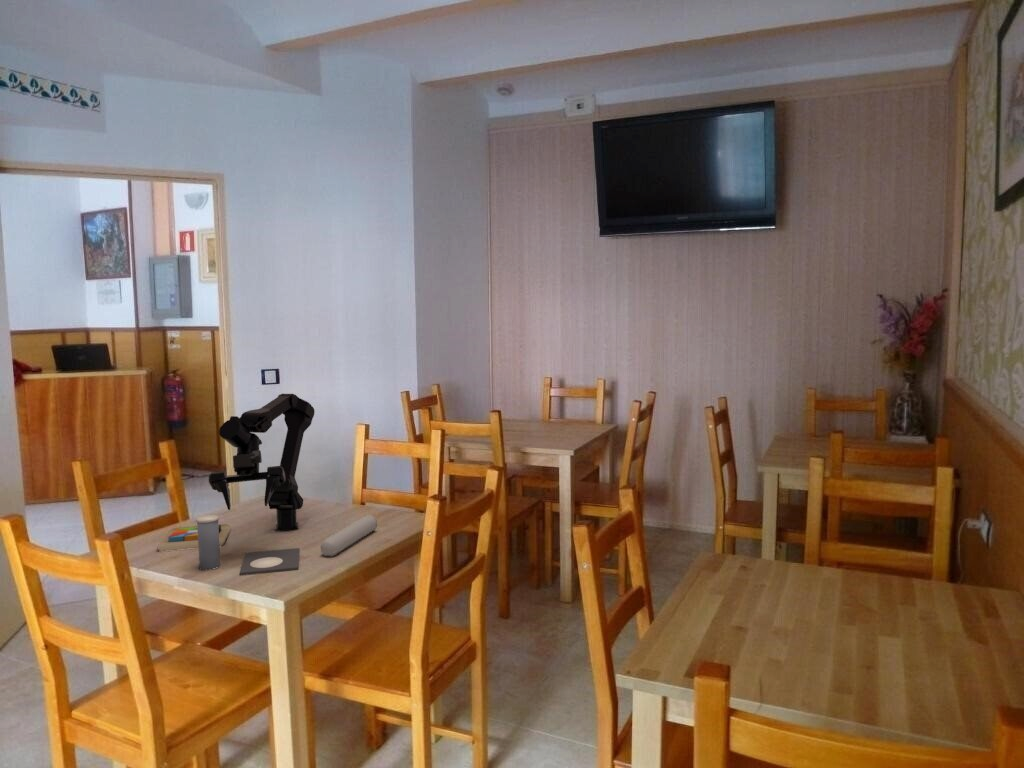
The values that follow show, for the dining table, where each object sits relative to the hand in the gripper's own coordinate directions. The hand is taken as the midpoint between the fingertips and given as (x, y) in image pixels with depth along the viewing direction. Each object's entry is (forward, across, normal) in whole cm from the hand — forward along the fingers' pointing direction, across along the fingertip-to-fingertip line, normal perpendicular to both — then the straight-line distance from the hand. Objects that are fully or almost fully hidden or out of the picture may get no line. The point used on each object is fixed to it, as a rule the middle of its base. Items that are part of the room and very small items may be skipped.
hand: (247, 507), depth 194 cm
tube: (+8, +25, +16) cm, 31 cm away
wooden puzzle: (-3, -19, +26) cm, 33 cm away
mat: (+13, +5, +6) cm, 15 cm away
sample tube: (+13, -10, +6) cm, 17 cm away
